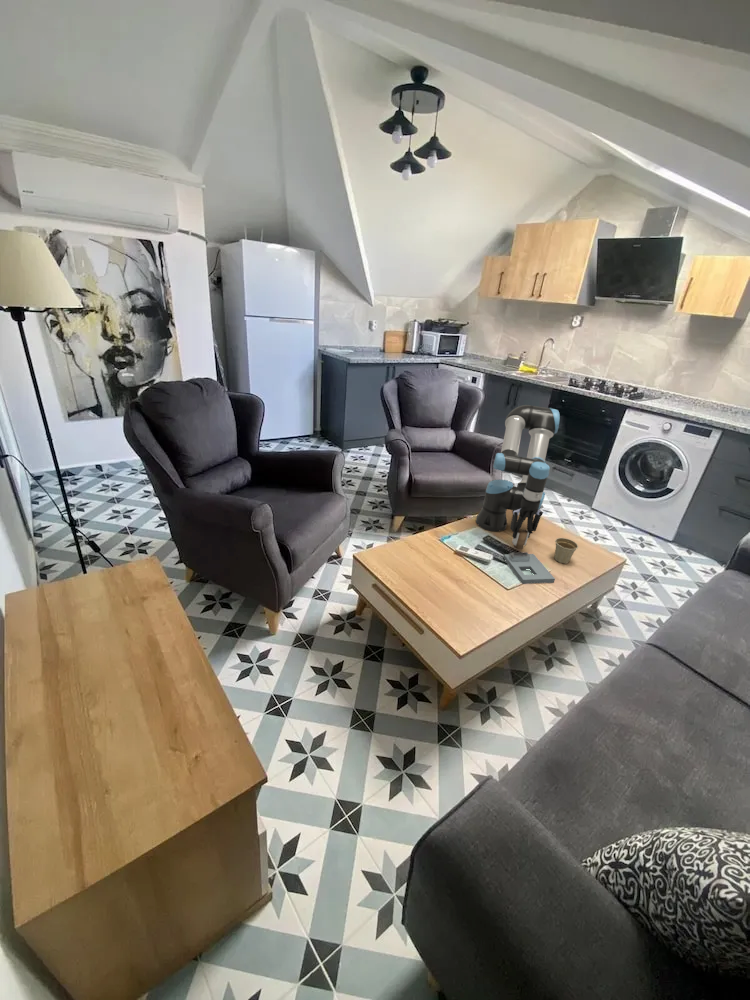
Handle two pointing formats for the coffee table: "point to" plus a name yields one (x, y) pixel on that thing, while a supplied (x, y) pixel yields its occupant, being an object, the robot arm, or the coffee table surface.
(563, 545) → the flower pot
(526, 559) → the bar
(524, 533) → the walnut peg
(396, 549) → the coffee table surface
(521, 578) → the housing plate
